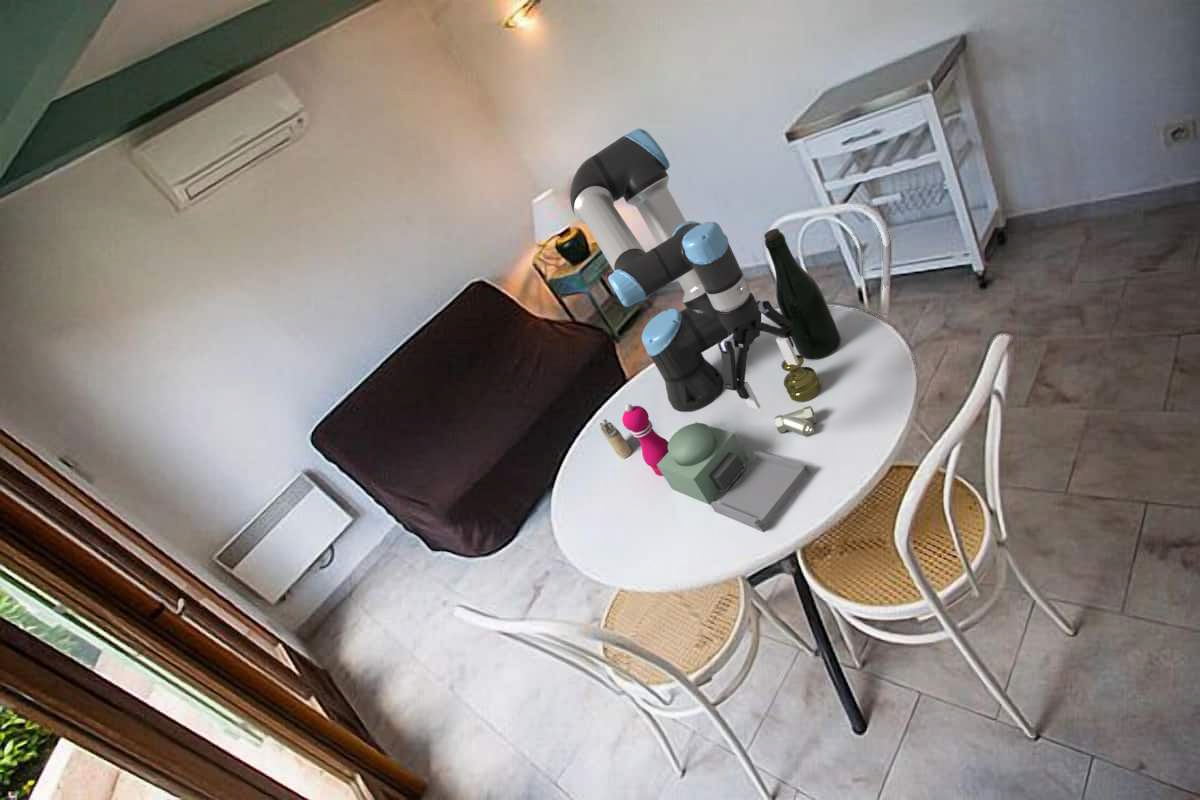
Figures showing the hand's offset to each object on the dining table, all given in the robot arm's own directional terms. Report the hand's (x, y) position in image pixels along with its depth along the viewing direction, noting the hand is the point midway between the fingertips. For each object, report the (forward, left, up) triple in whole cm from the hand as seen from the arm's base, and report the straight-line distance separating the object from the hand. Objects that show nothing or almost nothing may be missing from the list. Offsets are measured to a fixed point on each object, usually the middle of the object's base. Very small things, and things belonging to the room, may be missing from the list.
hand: (774, 384), depth 132 cm
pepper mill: (-25, -19, -14) cm, 35 cm away
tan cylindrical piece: (-42, -19, -14) cm, 48 cm away
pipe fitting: (0, +1, -15) cm, 15 cm away
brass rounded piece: (-6, +12, -14) cm, 20 cm away
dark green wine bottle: (-12, +27, -14) cm, 33 cm away
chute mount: (+3, -17, -14) cm, 22 cm away
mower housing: (-11, -17, -14) cm, 25 cm away
